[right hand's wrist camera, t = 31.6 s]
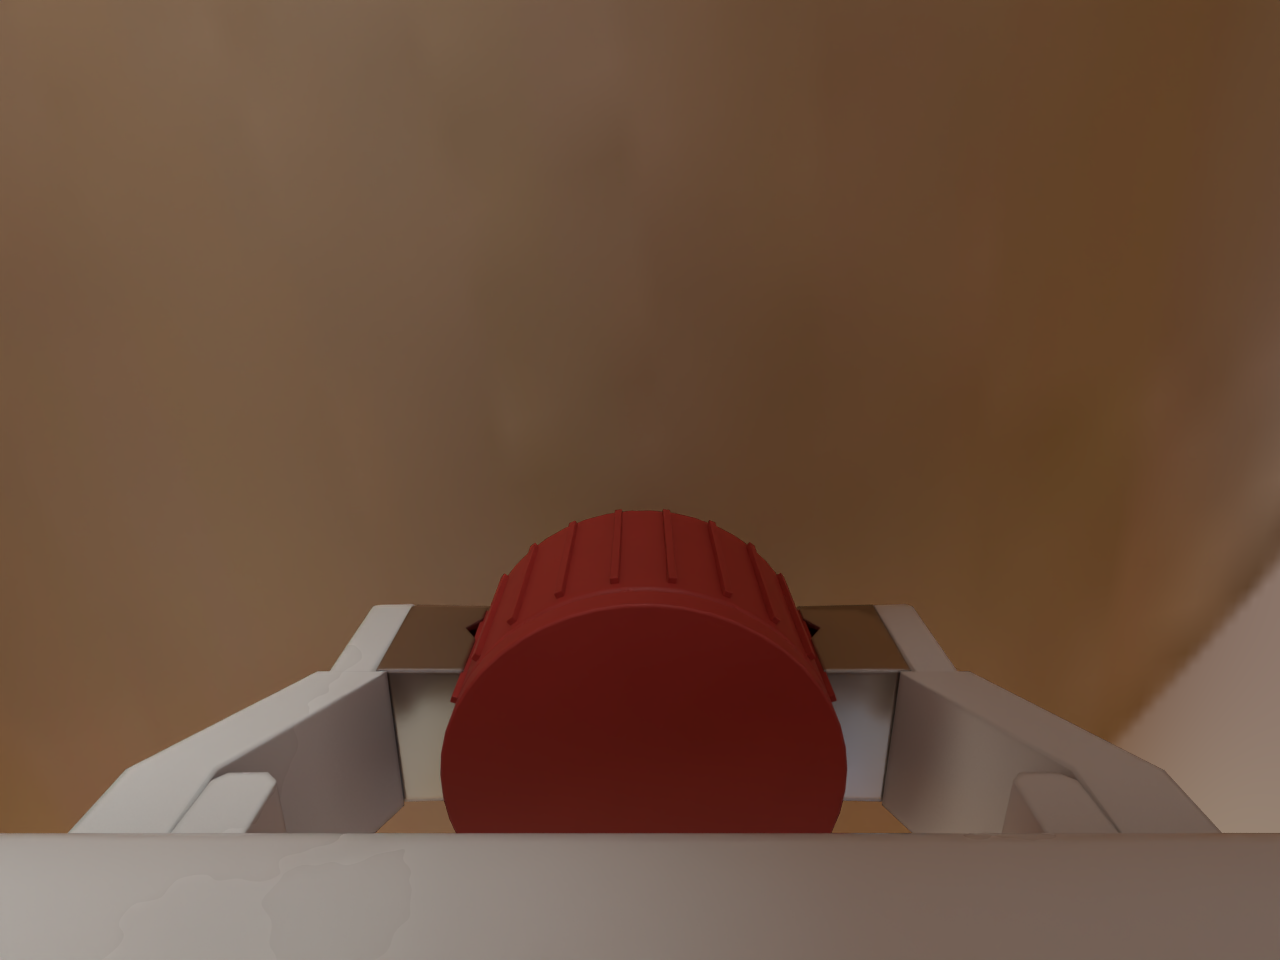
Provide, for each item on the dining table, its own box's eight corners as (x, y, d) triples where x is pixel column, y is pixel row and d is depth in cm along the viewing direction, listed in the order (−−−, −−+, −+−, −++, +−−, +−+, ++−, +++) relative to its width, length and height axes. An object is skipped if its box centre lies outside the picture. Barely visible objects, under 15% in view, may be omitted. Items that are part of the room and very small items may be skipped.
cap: (750, 456, 9) (787, 539, 7) (840, 734, 10) (898, 882, 8) (428, 564, 9) (361, 677, 7) (553, 817, 11) (530, 979, 9)
